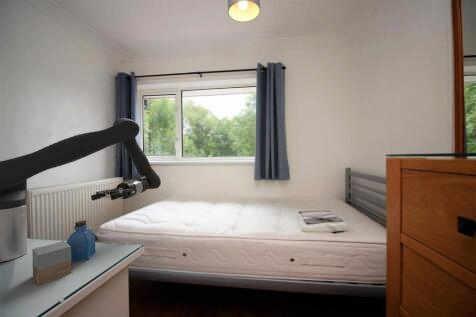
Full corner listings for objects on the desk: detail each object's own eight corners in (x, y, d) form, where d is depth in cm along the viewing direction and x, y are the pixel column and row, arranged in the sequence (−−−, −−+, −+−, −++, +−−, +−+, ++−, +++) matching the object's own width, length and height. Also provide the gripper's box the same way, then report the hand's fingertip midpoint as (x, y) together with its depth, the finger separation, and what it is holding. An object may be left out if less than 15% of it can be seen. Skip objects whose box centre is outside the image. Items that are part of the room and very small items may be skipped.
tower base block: (32, 277, 59) (32, 263, 59) (64, 266, 64) (63, 253, 64) (38, 285, 55) (38, 270, 55) (71, 273, 60) (70, 259, 60)
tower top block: (32, 263, 59) (32, 249, 59) (63, 253, 64) (63, 240, 64) (38, 270, 55) (38, 255, 55) (71, 259, 60) (70, 246, 60)
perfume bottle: (88, 259, 68) (87, 223, 68) (65, 263, 66) (64, 225, 66) (95, 251, 74) (94, 218, 74) (75, 254, 72) (74, 220, 72)
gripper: (115, 181, 96) (84, 188, 80) (143, 180, 94) (117, 187, 78) (117, 197, 97) (86, 207, 81) (144, 196, 94) (119, 207, 78)
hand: (101, 197), depth 79 cm, fingers open, 8 cm apart
